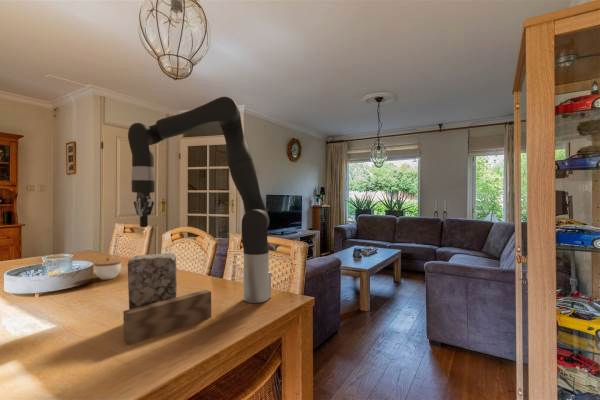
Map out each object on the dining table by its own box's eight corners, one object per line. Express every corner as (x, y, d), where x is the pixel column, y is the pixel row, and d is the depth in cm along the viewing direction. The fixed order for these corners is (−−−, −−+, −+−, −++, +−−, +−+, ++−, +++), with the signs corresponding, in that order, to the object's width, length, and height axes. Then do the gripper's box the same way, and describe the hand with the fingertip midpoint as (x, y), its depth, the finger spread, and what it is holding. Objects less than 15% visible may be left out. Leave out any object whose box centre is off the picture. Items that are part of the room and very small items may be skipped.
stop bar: (206, 314, 96) (206, 289, 96) (211, 316, 94) (211, 291, 94) (123, 341, 78) (123, 311, 78) (127, 345, 76) (127, 314, 76)
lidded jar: (118, 273, 149) (118, 254, 148) (123, 277, 141) (123, 258, 141) (92, 277, 141) (92, 257, 141) (96, 282, 133) (96, 261, 133)
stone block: (127, 328, 86) (127, 259, 86) (130, 319, 92) (129, 255, 92) (177, 320, 91) (176, 255, 91) (176, 312, 98) (176, 251, 97)
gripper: (161, 179, 107) (161, 227, 108) (146, 180, 116) (147, 225, 116) (139, 178, 102) (139, 229, 102) (125, 180, 111) (126, 226, 111)
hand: (143, 226), depth 109 cm, fingers closed
